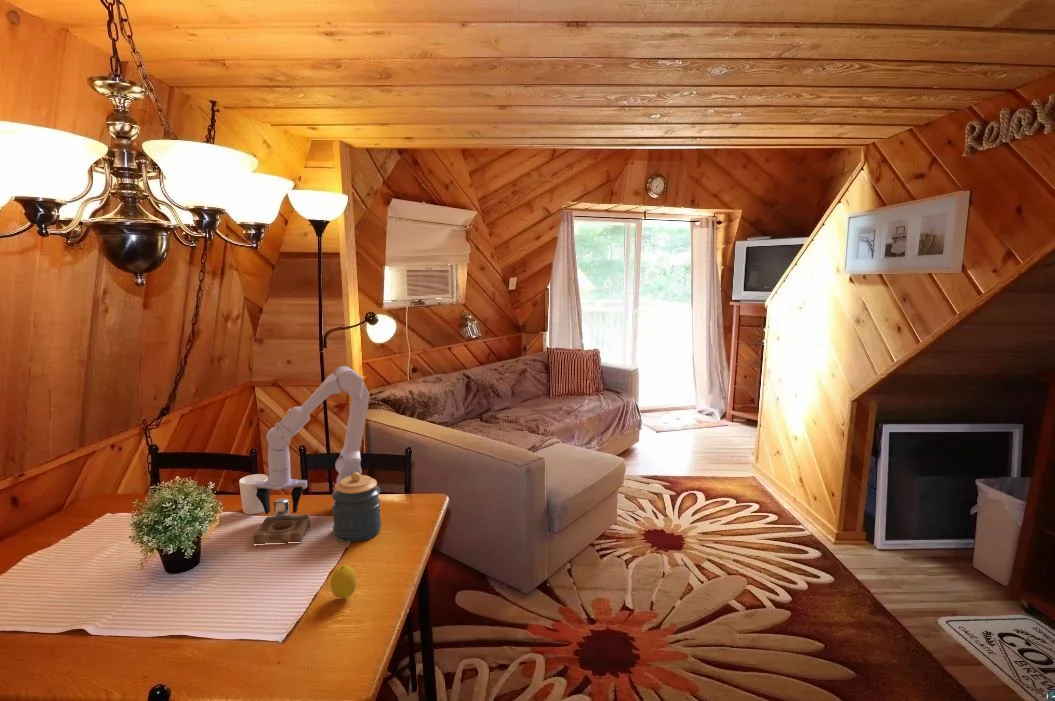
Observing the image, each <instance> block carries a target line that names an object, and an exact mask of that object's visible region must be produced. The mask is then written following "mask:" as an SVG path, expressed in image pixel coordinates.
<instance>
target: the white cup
mask: <svg viewBox="0 0 1055 701" xmlns="http://www.w3.org/2000/svg"><path fill="white" fill-rule="evenodd" d="M268 480H269V475H267V474H264V473H263V474H261V473H257V474H255V473H254V474H250V475H246V476H244V477H242V478H240V479H239V481H238V484H239V490H240V491H239V492H240V498H241V500H240V501H241V505H242V506H241V507H242V513H244V514H245V515H257V514H258V515H259V514H261V513H263V512H264V513H265V510H264V508H263V505H262V503H261V501H260V500H259V499H258V497H257V496H256V493H257V491H253V484H254V483H255V482H261V481H268Z"/></svg>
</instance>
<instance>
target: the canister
mask: <svg viewBox="0 0 1055 701" xmlns="http://www.w3.org/2000/svg"><path fill="white" fill-rule="evenodd" d="M334 489H335V490H333V492H332V493H331V498H332V499H333V503H332V516H333V519H332V520H333V525H332V531H333V535H335V536H334V537H335V538H336V539H337V538H338V539H340V540H339V541H341V540H343V541H342V542H345V541H350V542H349V543H357V542H362V541H366V540H369V539H372V538H373V537H375V536H377V535H379V532H380V531H381V526H382V521H381V520H382V519H381V499H380V498H379V495H380V493H381V488H380V487H379V486H378V481H377V480H376V479H375V478H372V477H371V476H369V475H366V474H361V475H360V473H358V472H354V473H353V474H352V475H351V476H348V477H345V478H343V479H342V480H341V481H339V482H338V483H335V485H334ZM338 539H337V540H338Z"/></svg>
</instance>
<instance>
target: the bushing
mask: <svg viewBox="0 0 1055 701" xmlns="http://www.w3.org/2000/svg"><path fill="white" fill-rule="evenodd" d="M273 511H274V516H291V515H290V500H289V498H287V497H280V498H276V499H275V500H274V501H273Z"/></svg>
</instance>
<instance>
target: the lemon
mask: <svg viewBox="0 0 1055 701" xmlns="http://www.w3.org/2000/svg"><path fill="white" fill-rule="evenodd" d="M356 588H357V575H356V572H355V570H354V568H352V567H351V566H348V565H344V564H342V565H341V566H339V567H336V569H334V571H333V573H332V574H331V578H330V589H331V590H330V591H331V592H332V595H334V596H335V597H336V598H339V599H342V600H346V598H349V597H350V596H351V595H353V593H354V592H355V590H356Z"/></svg>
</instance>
